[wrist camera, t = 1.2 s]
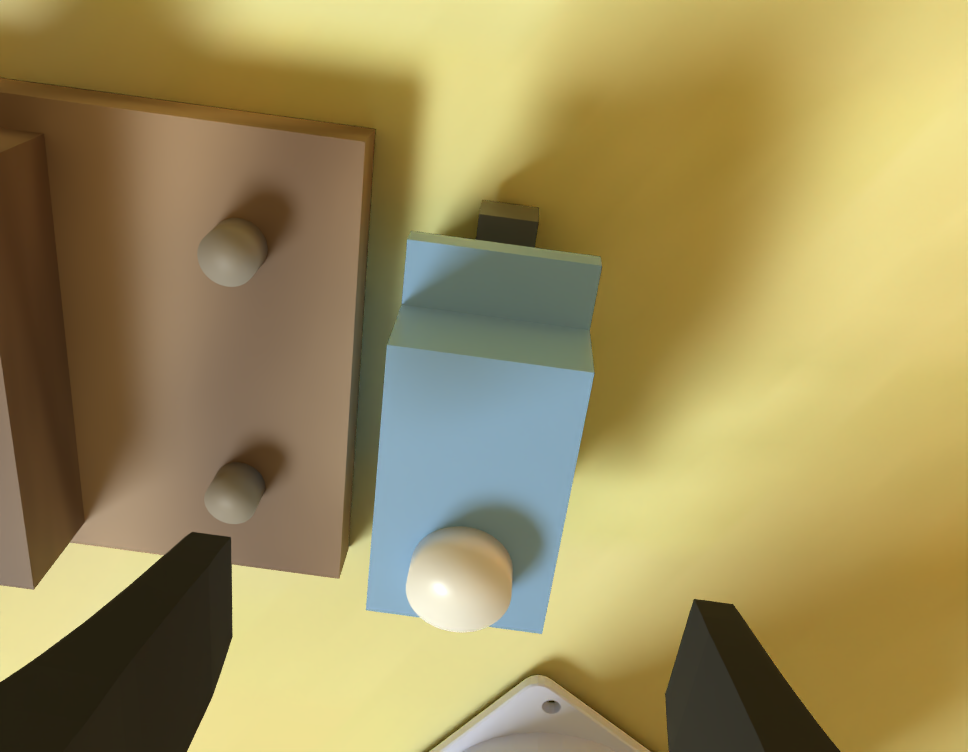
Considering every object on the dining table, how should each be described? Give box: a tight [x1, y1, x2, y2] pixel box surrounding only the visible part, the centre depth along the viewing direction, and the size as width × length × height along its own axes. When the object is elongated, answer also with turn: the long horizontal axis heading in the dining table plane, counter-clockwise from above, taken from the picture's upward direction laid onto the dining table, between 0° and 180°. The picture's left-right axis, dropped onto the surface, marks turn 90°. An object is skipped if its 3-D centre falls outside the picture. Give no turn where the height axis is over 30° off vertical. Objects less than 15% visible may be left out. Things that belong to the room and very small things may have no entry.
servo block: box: [366, 200, 602, 634], centre depth 19 cm, size 9×4×6 cm, turn 173°
